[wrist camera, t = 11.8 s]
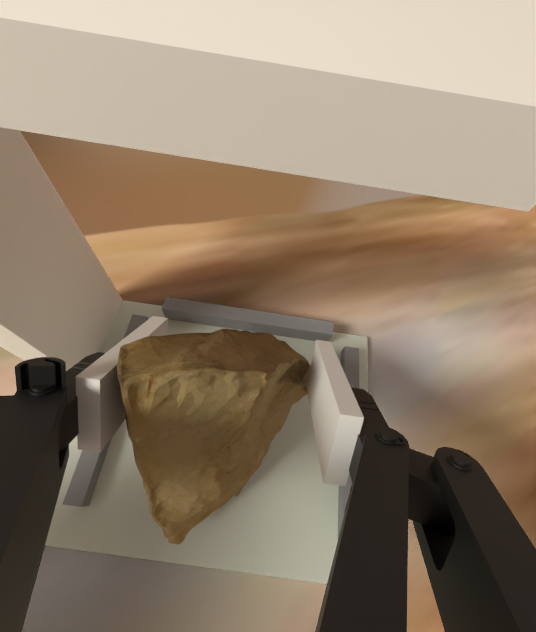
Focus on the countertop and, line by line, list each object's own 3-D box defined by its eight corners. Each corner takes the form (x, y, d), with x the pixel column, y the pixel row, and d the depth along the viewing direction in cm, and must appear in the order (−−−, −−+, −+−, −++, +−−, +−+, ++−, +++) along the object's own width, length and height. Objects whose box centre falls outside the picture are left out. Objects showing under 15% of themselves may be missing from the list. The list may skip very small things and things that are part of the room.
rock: (302, 297, 20) (130, 315, 17) (398, 315, 12) (106, 355, 9) (310, 455, 22) (155, 497, 19) (398, 563, 14) (154, 667, 11)
